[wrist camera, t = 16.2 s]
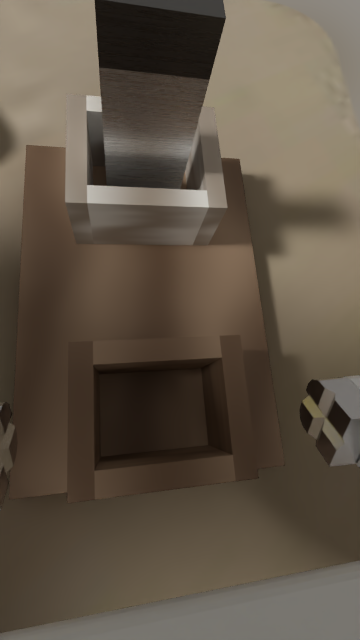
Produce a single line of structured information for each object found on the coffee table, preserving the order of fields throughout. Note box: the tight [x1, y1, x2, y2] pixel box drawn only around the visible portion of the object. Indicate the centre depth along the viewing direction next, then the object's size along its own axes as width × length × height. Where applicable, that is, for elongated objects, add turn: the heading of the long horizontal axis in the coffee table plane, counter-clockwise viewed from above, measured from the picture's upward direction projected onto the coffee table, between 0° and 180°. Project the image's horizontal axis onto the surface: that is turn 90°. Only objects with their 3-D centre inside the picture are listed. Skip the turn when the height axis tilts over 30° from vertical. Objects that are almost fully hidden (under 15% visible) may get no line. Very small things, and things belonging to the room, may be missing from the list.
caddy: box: [9, 94, 285, 503], centre depth 18 cm, size 14×20×6 cm
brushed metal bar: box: [95, 0, 226, 189], centre depth 15 cm, size 4×2×11 cm, turn 95°
